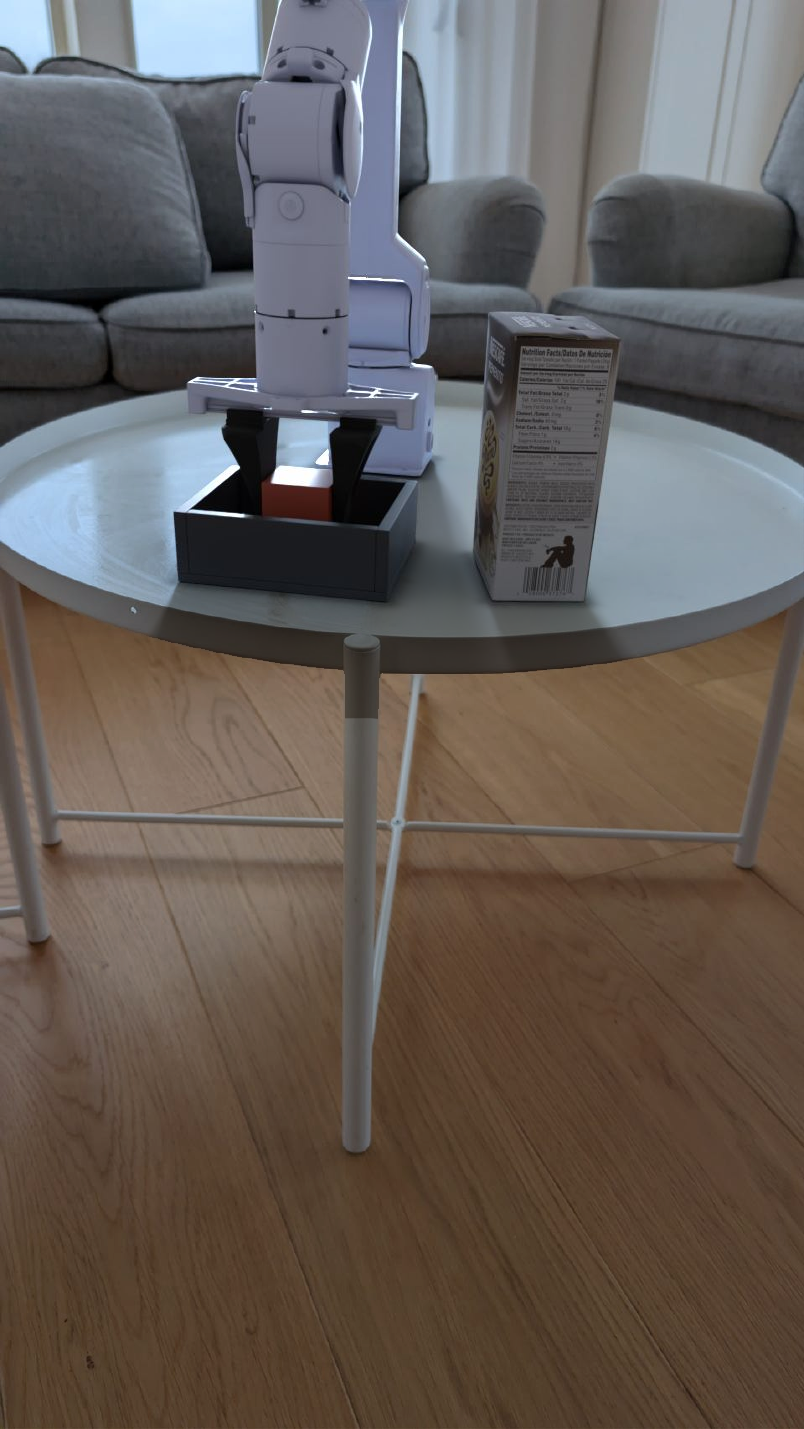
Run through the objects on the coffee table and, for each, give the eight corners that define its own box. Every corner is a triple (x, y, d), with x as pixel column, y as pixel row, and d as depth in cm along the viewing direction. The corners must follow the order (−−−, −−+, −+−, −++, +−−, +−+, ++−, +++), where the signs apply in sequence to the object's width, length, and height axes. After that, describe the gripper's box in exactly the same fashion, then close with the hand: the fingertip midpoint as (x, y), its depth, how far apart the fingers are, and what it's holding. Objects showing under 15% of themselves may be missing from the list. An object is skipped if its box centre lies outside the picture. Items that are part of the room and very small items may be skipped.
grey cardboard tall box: (468, 553, 72) (486, 309, 65) (557, 554, 73) (586, 313, 65) (488, 602, 64) (511, 331, 57) (589, 603, 65) (625, 334, 57)
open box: (415, 543, 74) (418, 480, 72) (386, 602, 64) (389, 531, 62) (233, 527, 76) (231, 465, 74) (177, 581, 66) (172, 511, 63)
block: (342, 542, 71) (343, 470, 69) (328, 563, 67) (328, 488, 65) (281, 536, 72) (280, 465, 69) (263, 557, 68) (261, 482, 65)
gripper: (163, 313, 60) (178, 538, 66) (409, 329, 58) (400, 558, 64) (204, 300, 66) (214, 507, 72) (427, 314, 64) (417, 525, 70)
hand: (303, 529), depth 69 cm, fingers closed on block, 4 cm apart
